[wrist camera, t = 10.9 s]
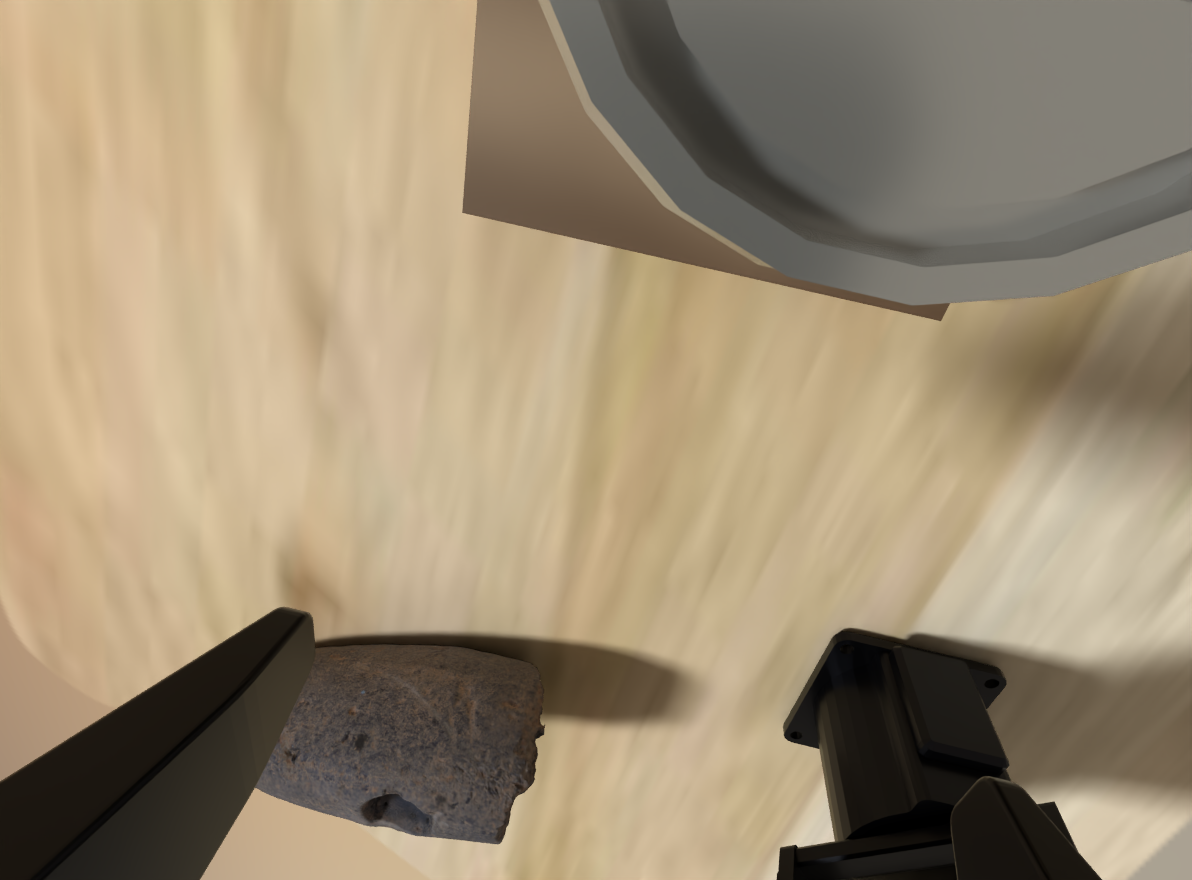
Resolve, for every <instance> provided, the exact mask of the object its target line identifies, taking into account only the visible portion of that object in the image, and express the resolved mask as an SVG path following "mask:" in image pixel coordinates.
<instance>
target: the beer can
mask: <svg viewBox="0 0 1192 880" xmlns="http://www.w3.org/2000/svg"><path fill="white" fill-rule="evenodd" d="M538 1H539V3H540V6H541V8H542V10H543V13H544V15H545V18H546V20H547V22H548V25H549V27H550V29H551V32H552V34H553V37H554V39H555V41H556V44H557V46H558V48H559V51H560V53H561V56H562V58H563V60H564V63H565V65H566V67H567V70H568V72H569V75H570V77H571V79H572V82H573V84H574V86H575V89H576V91H577V94H578V96H579V98H580V101H581V103H582V105H583V108H584V110H585V112H586V114H587V115H588V116H589V117H590V118H591V120H592V121H593V122H594V123H595V124H596V126H597V127H598V128H599V129H600V131H601V132H602V133H603V134H604V135H605V137H606V138H607V139H608V140H609V141H610V143H611V144H612V145H613V146H614V147H615V149H616V150H617V151H618V152H619V153H620V155H621V156H622V157H623V158H624V159H625V161H626V162H627V163H628V164H629V165H630V167H631V168H632V169H633V170H634V172H635V173H636V174H637V175H638V176H639V178H640V179H641V180H642V181H643V182H644V184H645V185H646V186H647V187H648V188H649V190H650V191H651V192H652V193H653V194H654V196H655V197H656V198H657V199H658V200H659V202H660V203H661V204H662V205H663V206H664V207H665V208H667V209H669V210H670V211H672V212H674V213H675V214H677V215H678V216H680V217H682V218H683V219H685V220H686V221H688V222H690V223H691V224H693V225H695V226H696V227H698V228H699V229H701V230H703V231H704V232H706V233H707V234H709V235H711V236H712V237H714V238H716V239H717V240H719V241H720V242H722V243H724V244H725V245H727V246H728V247H730V248H732V249H733V250H735V251H737V252H738V253H740V254H741V255H743V256H745V257H746V258H748V259H749V260H751V261H753V262H754V263H756V264H758V265H761V266H766V267H770V268H774V269H776V270H778V271H779V272H781V273H782V274H784V275H786V276H787V277H791V278H795V279H800V280H804V281H808V282H813V283H817V284H821V285H826V286H830V287H834V288H839V289H843V290H847V291H851V292H856V293H860V294H864V295H869V296H873V297H877V298H882V299H886V300H890V301H895V302H899V303H903V304H908V305H912V306H913V305H928V304H942V303H957V302H972V301H986V300H1001V299H1015V298H1030V297H1045V296H1055V295H1058V294H1061V293H1064V292H1067V291H1070V290H1073V289H1076V288H1079V287H1082V286H1085V285H1088V284H1091V283H1094V282H1097V281H1100V280H1103V279H1106V278H1109V277H1112V276H1115V275H1118V274H1121V273H1124V272H1128V271H1131V270H1134V269H1137V268H1140V267H1143V266H1146V265H1149V264H1152V263H1155V262H1158V261H1161V260H1164V259H1167V258H1170V257H1173V256H1176V255H1179V254H1182V253H1185V252H1188V251H1191V250H1192V0H538Z"/></svg>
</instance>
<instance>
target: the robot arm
mask: <svg viewBox="0 0 1192 880" xmlns="http://www.w3.org/2000/svg"><path fill="white" fill-rule="evenodd" d="M843 645H847V646H843ZM314 660H315V638H314V624H313V617H312V616H311V614H310V613H308V612H305V611H301V610H297V609H293V608H289V607H280V608H277V609H275V610H273V611H271V612H270V613H268V614H267V615H265V616H263V617H262V618H260V619H259V620H257V621H255V622H254V623H252V624H251V625H249V626H247V627H246V628H244V629H243V630H241V631H240V632H238V633H236V634H235V635H233V636H232V637H230V638H228V639H227V640H225V641H224V642H222V643H220V644H219V645H217V646H216V647H214V648H212V649H211V650H209V651H208V652H206V653H204V654H203V655H201V656H200V657H198V658H196V659H195V660H193V661H192V662H190V663H188V664H187V665H185V666H184V667H182V668H180V669H179V670H177V671H176V672H174V673H173V674H171V675H169V676H168V677H166V678H165V679H163V680H161V681H160V682H158V683H157V684H155V685H153V686H152V687H150V688H149V689H147V690H145V691H144V692H142V693H141V694H139V695H137V696H136V697H134V698H133V699H131V700H129V701H128V702H126V703H125V704H123V705H121V706H120V707H118V708H117V709H115V710H113V711H112V712H110V713H109V714H107V715H106V716H104V717H102V718H101V719H99V720H98V721H96V722H95V723H93V724H91V725H90V726H88V727H87V728H85V729H83V730H82V731H80V732H79V733H77V734H75V735H74V736H72V737H70V738H69V739H67V740H66V741H64V742H63V743H61V744H59V745H58V746H56V747H54V748H53V749H51V750H50V751H48V752H47V753H45V754H43V755H42V756H40V757H38V758H37V759H35V760H34V761H32V762H31V763H29V764H27V765H26V766H24V767H23V768H21V769H19V770H18V771H16V772H15V773H13V774H11V775H10V776H8V777H7V778H5V779H3V780H2V781H0V880H200V879H201V877H202V875H203V874H204V872H205V870H206V869H207V867H208V865H209V864H210V862H211V860H212V859H213V857H214V855H215V854H216V852H217V850H218V848H219V847H220V845H221V844H222V842H223V840H224V839H225V837H226V835H227V834H228V832H229V830H230V829H231V827H232V825H233V824H234V822H235V820H236V819H237V817H238V815H239V814H240V812H241V810H242V809H243V807H244V805H245V804H246V802H247V800H248V799H249V797H250V795H251V793H252V792H253V790H254V788H255V786H256V785H257V783H258V781H259V779H260V777H261V775H262V773H263V771H264V769H265V767H266V765H267V763H268V761H269V759H270V757H271V754H272V752H273V750H274V748H275V746H276V744H277V742H278V740H279V737H280V735H281V733H282V731H283V729H284V727H285V725H286V723H287V720H288V718H289V716H290V714H291V712H292V710H293V708H294V706H295V704H296V701H297V699H298V697H299V695H300V693H301V691H302V689H303V687H304V684H305V682H306V680H307V678H308V676H309V674H310V672H311V669H312V667H313V664H314ZM1006 684H1007V683H1006V679H1005V677H1004V675H1003V673H1002V671H1001V670H1000V669H999V668H997V667H994V666H990V665H986V664H982V663H977V662H973V661H969V660H965V659H961V658H956V657H952V656H948V655H944V654H940V653H935V652H931V651H927V650H923V649H919V648H914V647H910V646H906V645H902V644H898V643H893V642H889V641H885V640H881V639H877V638H872V637H868V636H864V635H860V634H856V633H851V632H840V633H838V634H836V635H834V636H833V637H832V639H831V641H830V643H829V644H828V646H827V648H826V650H825V651H824V653H823V655H822V657H821V659H820V660H819V662H818V664H817V666H816V667H815V669H814V671H813V673H812V675H811V676H810V678H809V680H808V682H807V683H806V685H805V687H804V689H803V691H802V692H801V694H800V696H799V698H798V700H797V701H796V703H795V705H794V707H793V708H792V710H791V712H790V714H789V716H788V717H787V719H786V721H785V723H784V725H783V731H784V736H785V738H786V739H787V740H788V741H790V742H793V743H797V744H801V745H806V746H810V747H814V748H818V749H820V755H821V761H822V767H823V773H824V779H825V785H826V791H827V797H828V803H829V809H830V815H831V821H832V827H833V833H834V839H835V842H829V843H823V844H817V845H811V846H805V847H799V848H798V847H797V846H796V845H792V846H786V847H781V848H780V856H779V871H778V873H777V880H1102V879H1101V878H1100V877H1099V876H1098V874H1097V873H1096V872H1095V871H1094V870H1093V869H1092V867H1091V866H1090V865H1089V864H1088V863H1087V862H1086V861H1085V859H1084V858H1083V857H1082V856H1081V855H1080V854H1079V852H1078V850H1077V848H1076V846H1075V844H1074V842H1073V840H1072V838H1071V836H1070V833H1069V831H1068V829H1067V827H1066V825H1065V823H1064V821H1063V819H1062V817H1061V814H1060V812H1059V810H1058V808H1057V806H1056V804H1055V802H1048V803H1042V804H1036V803H1035V801H1034V800H1033V799H1032V798H1031V797H1030V796H1029V794H1028V793H1027V792H1026V791H1025V790H1024V789H1023V788H1022V787H1020V786H1019V785H1018V784H1016V783H1013V782H1011V779H1010V777H1009V775H1008V772H1007V770H1006V769H1007V768H1008V766H1009V761H1008V758H1007V756H1006V754H1005V751H1004V749H1003V747H1002V744H1001V742H1000V740H999V737H998V735H997V733H996V731H995V728H994V726H993V724H992V721H991V719H990V717H989V714H988V712H987V710H986V709H987V708H988V707H989V706H990V705H991V703H992V702H993V701H994V700H995V699H996V697H997V696H998V695H999V694H1000V692H1001V691H1002V690H1003V689H1004V688H1005V686H1006Z"/></svg>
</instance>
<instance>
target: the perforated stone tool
mask: <svg viewBox="0 0 1192 880" xmlns="http://www.w3.org/2000/svg"><path fill="white" fill-rule="evenodd" d="M543 694H544V689H543V687H542V684H541V681H540V674H539V671H538V669H537V667H534V666H533V665H532V664H531V663H528V662H525V661H521V660H517V659H512V658H508V657H503V656H500V655H496V654H492V653H487V652H480V651H477V650H473V649H469V648H464V647H454V646H435V645H434V646H428V645H393V644H389V645H388V644H383V645H350V646H343V647H335V646H333V647H322V648H315V660H314V664H313V667H312V669H311V672H310V674H309V676H308V678H307V680H306V682H305V684H304V687H303V689H302V691H301V693H300V695H299V697H298V699H297V701H296V704H295V706H294V708H293V710H292V712H291V714H290V716H289V718H288V720H287V723H286V725H285V727H284V729H283V731H282V733H281V735H280V737H279V740H278V742H277V744H276V746H275V748H274V750H273V752H272V754H271V757H270V759H269V761H268V763H267V765H266V767H265V769H264V771H263V773H262V775H261V777H260V779H259V781H258V783H257V785H256V786H255V788H257V789H259V790H261V791H262V792H265V793H267V794H269V795H271V796H274V797H276V798H279V799H282V800H285V801H288V802H290V803H293V804H296V805H299V806H302V807H305V808H309V809H312V810H316V811H318V812H322V813H325V814H329V815H333V816H336V817H340V818H344V819H348V820H351V821H354V822H356V823H359V824H363V825H366V826H374V827H377V826H382V827H389V828H393V829H395V830H397V831H402V832H405V833H408V834H411V835H415V836H425V837H437V838H447V839H456V840H465V841H473V842H481V843H490V844H500V843H501V842H502V840H503V838H504V835H505V831H506V827H507V826H508V824H509V818H510V811H511V807H512V805H513V802H514V800H515V798H516V797H517V796H518V795H520V794H522V793H524V792H525V791H526V790H528V788H529V787H530V786H531V785H532V784H533V782H534V780H535V778H534V776H535V772H536V769H535V762H536V759H537V756H538V753H537V747H536V744H535V740H536V739H537V738H539V737H540V736H542V735H544V728H545V725H544V726H543V725H541V722H540V715H541V714H542V703H543V698H544V697H543Z"/></svg>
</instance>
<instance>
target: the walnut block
mask: <svg viewBox="0 0 1192 880" xmlns="http://www.w3.org/2000/svg"><path fill="white" fill-rule="evenodd" d="M462 213H466V214H470V215H475V216H479V217H484V218H488V219H492V220H497V221H501V222H506V223H510V224H515V225H519V226H523V227H528V228H532V229H537V230H541V231H545V232H550V233H554V234H559V235H563V236H568V237H572V238H576V239H581V240H585V241H590V242H594V243H598V244H603V245H607V246H612V247H616V248H621V249H625V250H629V251H634V252H638V253H643V254H647V255H651V256H656V257H660V258H665V259H669V260H674V261H678V262H682V263H687V264H691V265H696V266H700V267H704V268H709V269H713V270H718V271H722V272H727V273H731V274H735V275H740V276H744V277H749V278H753V279H757V280H762V281H766V282H771V283H775V284H780V285H784V286H788V287H793V288H797V289H802V290H806V291H810V292H815V293H819V294H824V295H828V296H833V297H837V298H841V299H846V300H850V301H855V302H859V303H863V304H868V305H872V306H877V307H881V308H886V309H890V310H894V311H899V312H903V313H908V314H912V315H916V316H921V317H925V318H930V319H934V320H939V321H941V320H942V318H943V316H944V314H945V312H946V310H947V308H948V306H949V304H950V303H942V304H928V305H913V306H912V305H908V304H903V303H899V302H895V301H890V300H886V299H882V298H877V297H873V296H869V295H864V294H860V293H856V292H851V291H847V290H843V289H839V288H834V287H830V286H826V285H821V284H817V283H813V282H808V281H804V280H800V279H795V278H791V277H787V276H786V275H784V274H782V273H781V272H779V271H778V270H776V269H774V268H770V267H766V266H761V265H758V264H756V263H754V262H753V261H751V260H749V259H748V258H746V257H745V256H743V255H741V254H740V253H738V252H737V251H735V250H733V249H732V248H730V247H728V246H727V245H725V244H724V243H722V242H720V241H719V240H717V239H716V238H714V237H712V236H711V235H709V234H707V233H706V232H704V231H703V230H701V229H699V228H698V227H696V226H695V225H693V224H691V223H690V222H688V221H686V220H685V219H683V218H682V217H680V216H678V215H677V214H675V213H674V212H672V211H670V210H669V209H667V208H665V207H664V206H663V205H662V204H661V203H660V202H659V200H658V199H657V198H656V197H655V196H654V194H653V193H652V192H651V191H650V190H649V188H648V187H647V186H646V185H645V184H644V182H643V181H642V180H641V179H640V178H639V176H638V175H637V174H636V173H635V172H634V170H633V169H632V168H631V167H630V165H629V164H628V163H627V162H626V161H625V159H624V158H623V157H622V156H621V155H620V153H619V152H618V151H617V150H616V149H615V147H614V146H613V145H612V144H611V143H610V141H609V140H608V139H607V138H606V137H605V135H604V134H603V133H602V132H601V131H600V129H599V128H598V127H597V126H596V124H595V123H594V122H593V121H592V120H591V118H590V117H589V116H588V115H587V114H586V112H585V110H584V108H583V105H582V103H581V101H580V98H579V96H578V94H577V91H576V89H575V86H574V84H573V82H572V79H571V77H570V75H569V72H568V70H567V67H566V65H565V63H564V60H563V58H562V56H561V53H560V51H559V48H558V46H557V44H556V41H555V39H554V37H553V34H552V32H551V29H550V27H549V25H548V22H547V20H546V18H545V15H544V13H543V10H542V8H541V6H540V3H539V1H538V0H478V1H477V15H476V29H475V43H474V57H473V71H472V85H471V99H470V113H469V127H468V141H467V155H466V169H465V184H464V198H463V212H462Z"/></svg>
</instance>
